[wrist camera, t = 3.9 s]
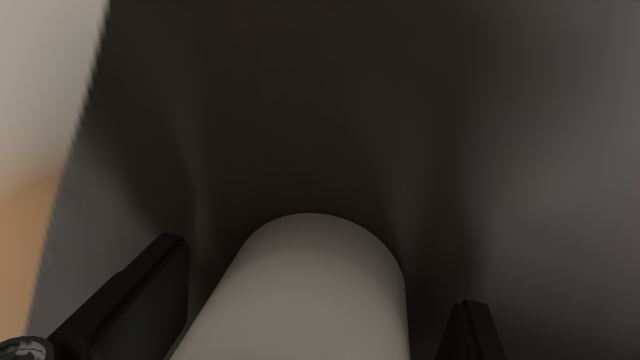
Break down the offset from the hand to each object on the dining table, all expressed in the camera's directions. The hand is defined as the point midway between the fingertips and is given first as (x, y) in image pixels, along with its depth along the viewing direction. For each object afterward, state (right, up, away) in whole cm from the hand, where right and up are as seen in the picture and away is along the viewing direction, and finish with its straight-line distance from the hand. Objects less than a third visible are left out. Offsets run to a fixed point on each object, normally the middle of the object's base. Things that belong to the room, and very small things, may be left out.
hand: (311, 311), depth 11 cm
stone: (0, 0, +1) cm, 1 cm away
